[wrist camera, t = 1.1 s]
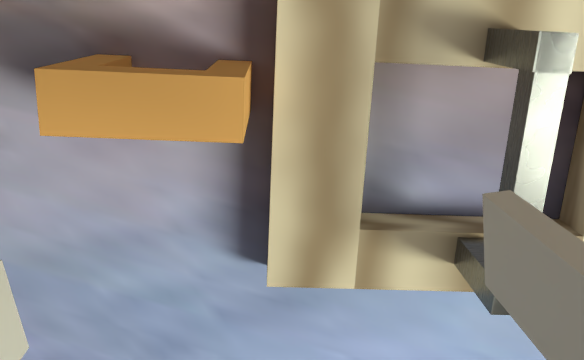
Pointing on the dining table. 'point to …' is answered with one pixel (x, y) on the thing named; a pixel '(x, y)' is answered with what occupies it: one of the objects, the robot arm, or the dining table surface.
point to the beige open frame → (354, 136)
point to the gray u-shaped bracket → (524, 129)
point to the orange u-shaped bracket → (143, 100)
